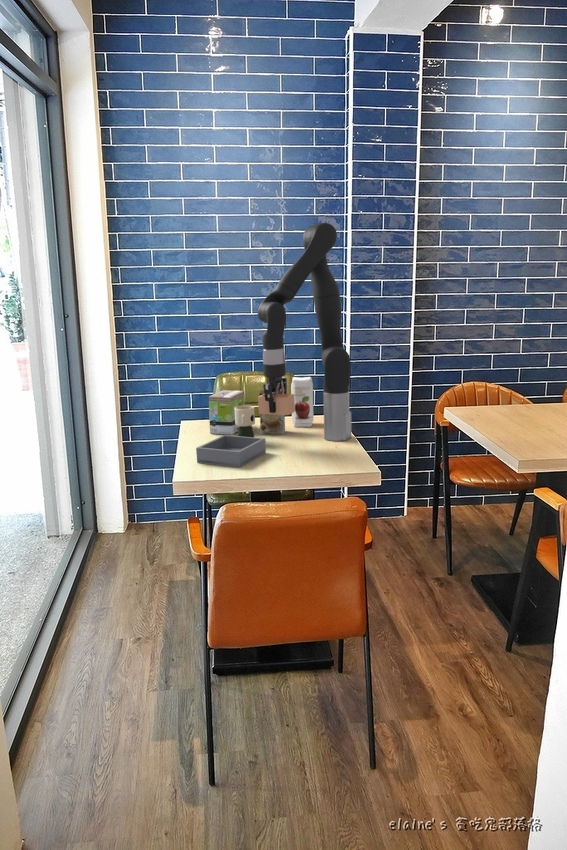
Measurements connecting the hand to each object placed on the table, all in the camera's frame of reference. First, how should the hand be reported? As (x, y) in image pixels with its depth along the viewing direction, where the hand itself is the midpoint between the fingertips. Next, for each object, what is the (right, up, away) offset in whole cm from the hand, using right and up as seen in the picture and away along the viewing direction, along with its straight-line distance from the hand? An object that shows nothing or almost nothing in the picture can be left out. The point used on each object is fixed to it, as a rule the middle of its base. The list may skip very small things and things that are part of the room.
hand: (276, 410), depth 224 cm
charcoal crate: (-15, -16, -7) cm, 23 cm away
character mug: (-11, -12, +12) cm, 20 cm away
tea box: (-19, -7, +32) cm, 38 cm away
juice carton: (+10, -5, +35) cm, 37 cm away
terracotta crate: (0, -1, 0) cm, 1 cm away
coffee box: (-2, -8, +25) cm, 26 cm away
